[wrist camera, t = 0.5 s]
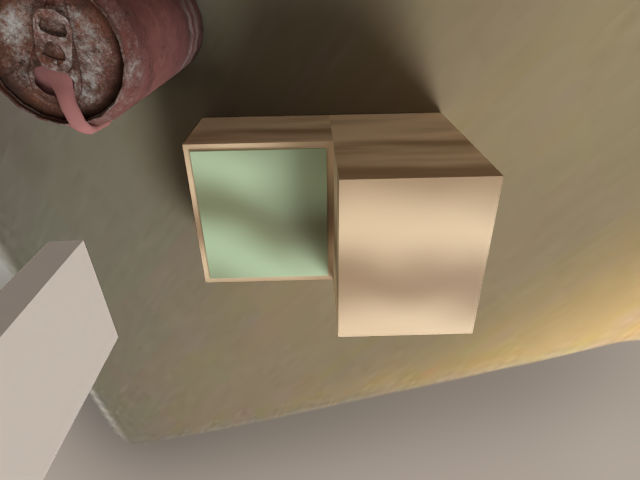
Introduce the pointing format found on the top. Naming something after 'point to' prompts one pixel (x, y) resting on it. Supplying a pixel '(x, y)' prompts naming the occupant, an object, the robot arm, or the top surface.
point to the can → (92, 55)
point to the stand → (349, 213)
